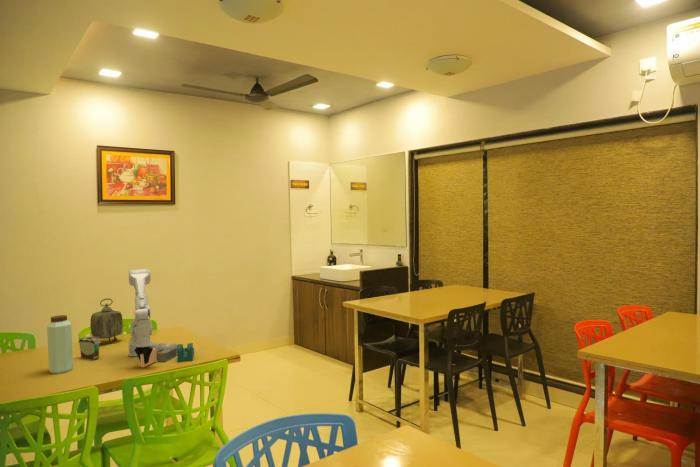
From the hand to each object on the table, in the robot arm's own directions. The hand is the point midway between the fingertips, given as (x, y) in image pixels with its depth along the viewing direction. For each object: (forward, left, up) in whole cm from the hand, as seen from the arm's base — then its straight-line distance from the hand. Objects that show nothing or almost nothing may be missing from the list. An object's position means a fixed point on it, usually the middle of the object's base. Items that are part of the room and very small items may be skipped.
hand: (144, 363), depth 219 cm
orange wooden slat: (0, +3, -1) cm, 4 cm away
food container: (-36, +10, -2) cm, 38 cm away
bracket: (+11, +18, -2) cm, 21 cm away
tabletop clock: (-48, +36, -2) cm, 60 cm away
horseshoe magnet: (0, +14, -2) cm, 14 cm away
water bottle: (-36, -10, -2) cm, 37 cm away
